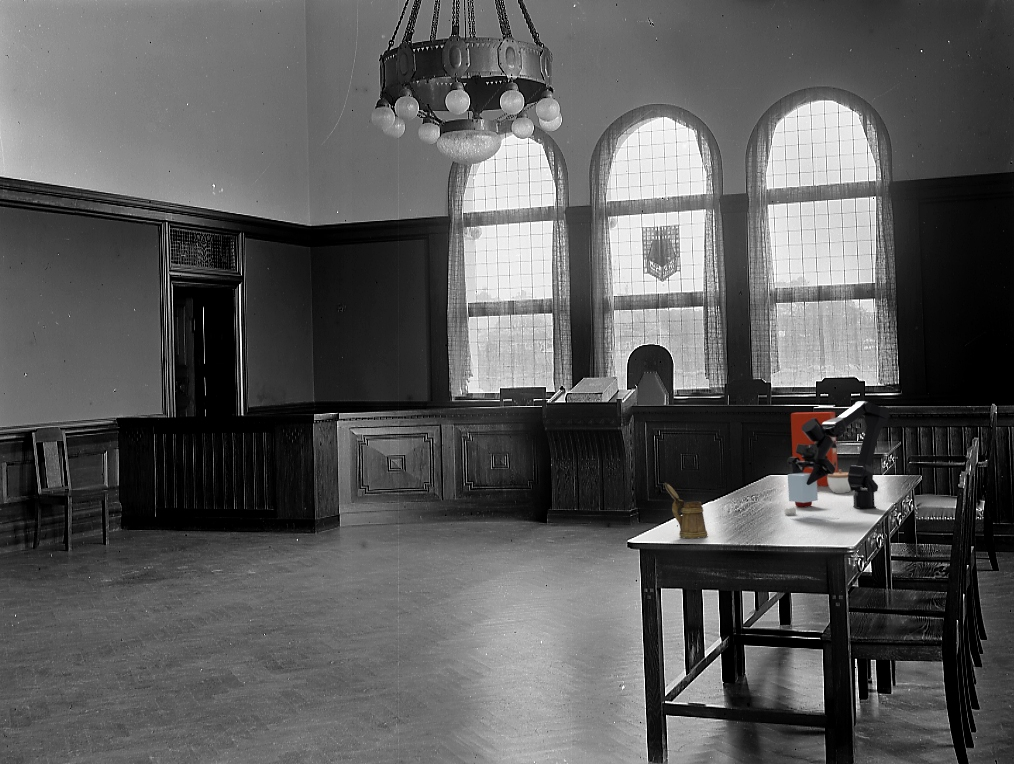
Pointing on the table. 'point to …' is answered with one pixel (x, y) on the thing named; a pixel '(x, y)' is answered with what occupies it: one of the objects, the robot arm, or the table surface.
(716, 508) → the table surface
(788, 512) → the white domed knob
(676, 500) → the wooden mug
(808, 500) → the light blue block
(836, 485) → the lidded jar
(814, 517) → the mat
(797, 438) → the file binder
